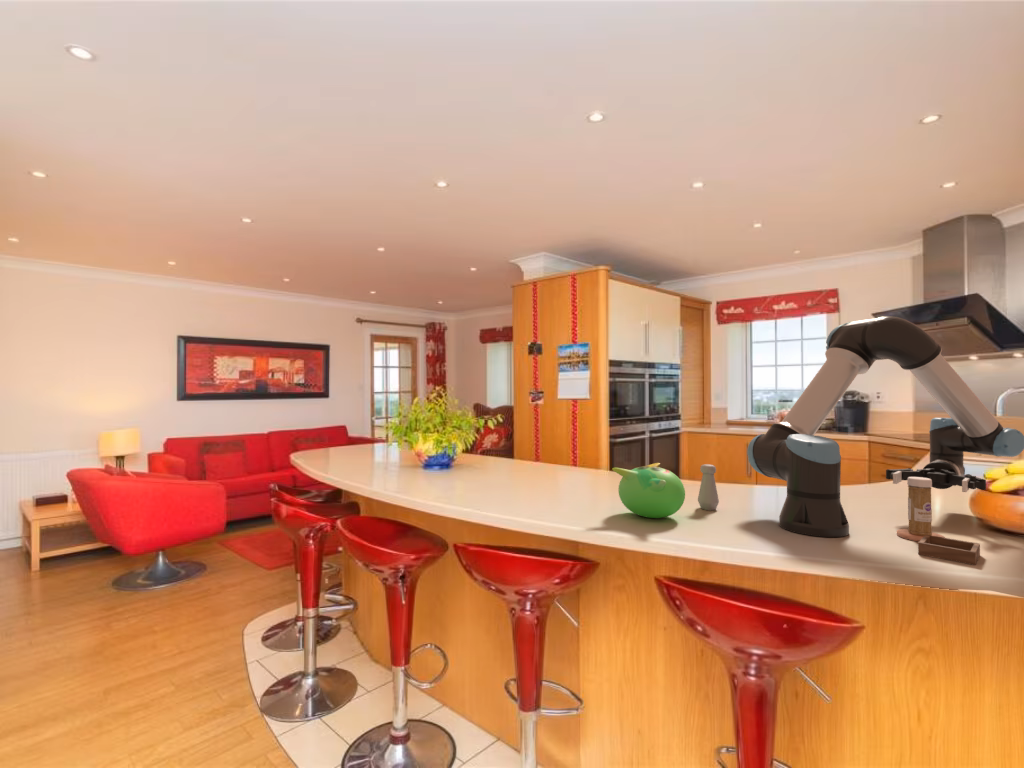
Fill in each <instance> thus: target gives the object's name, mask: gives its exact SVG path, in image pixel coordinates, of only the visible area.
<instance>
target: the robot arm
mask: <svg viewBox="0 0 1024 768" xmlns="http://www.w3.org/2000/svg"><path fill="white" fill-rule="evenodd" d="M825 342H826V343H825V344H826V346H825V350H826V351H825V352H824V353H825V354H824V355H825V358H826V361H824V363H823V365H822V366H821V367H820V369H819V370H818V371H817V373H816V374H815V376H813V378H812V380H811V381H810V382H809V384H808V385H807V386H806V388H805V389H804V390H803V392H802V393H801V395H800V396H799V397H798V399H797V400H796V401H795V403H794V404H793V406H792V407H791V409H789V411H788V412H787V414H786V415H785V417H784V418H783V419H782V421H780V422H774V423H773V424H772V425H771V426H770V427H769V429H768V430H767V431H766V433H762V434H758V435H756V436H754V437H753V438H752V439H751V440H750V441H749V443H748V447H747V451H746V453H747V460H748V462H749V464H750V466H751V468H752V469H754V471H755V472H757V473H759V474H761V475H763V476H765V477H768V478H773V479H777V480H781V481H785V482H786V497H785V500H784V503H783V506H782V509H781V511H780V514H779V517H778V518H779V520H778V523H779V527H780V528H782V529H784V530H787V531H789V532H793V533H797V534H801V535H807V536H813V537H825V538H841V537H846V536H848V535H849V534H850V524H849V522H848V518H847V515H846V513H845V511H844V508H843V505H842V502H841V474H842V473H841V468H842V467H841V466H842V465H841V463H842V455H841V451H840V445H839V443H838V442H837V441H836V440H834V439H832V438H829V437H826V436H821V435H815V434H816V433H817V432H818V430H819V429H820V427H821V426H822V424H824V422H825V420H826V419H827V418H828V417H829V415H830V414H831V412H832V411H833V410H834V408H835V407H836V405H837V404H838V402H839V401H840V400H841V399H842V397H843V396H844V394H845V392H846V391H847V390H848V389H849V387H850V385H851V384H852V383H853V381H854V380H855V379H856V377H857V376H858V375H863V374H866V373H867V372H869V369H870V368H871V367H872V366H873V364H874V363H875V362H876V361H881V360H882V361H883V360H890V361H893V362H895V363H897V364H898V365H899V367H900V368H902V370H905V371H910V372H911V374H913V376H914V377H915V379H917V381H918V382H919V383H920V384H921V385H922V386H923V388H925V390H926V391H927V392H928V393H929V394H930V395H931V396H932V397H933V399H935V401H936V402H937V404H939V406H940V407H941V408H942V409H943V410H944V411H945V413H946V414H948V416H949V417H933V418H931V420H930V424H929V432H928V433H929V463H927V464H926V465H924V466H923V468H921V469H919V468H917V469H916V470H914V469H912V468H909V467H908V468H899V469H898V468H896V469H894V468H893V469H888V468H887V469H885V479H886V480H892V484H894V485H897V484H899V483H901V482H902V481H907V480H908V477H923V478H929V479H931V480H932V487H931V488H935V489H937V490H946V489H950V488H952V487H956V486H957V487H958V486H959V487H961V492H962V493H967V492H968V491H969V490H976V489H977V490H981V491H987V479H984V478H980V477H977V476H976V475H972V474H969V473H968V474H966V467H965V465H964V453H972V454H979V455H988V456H993V457H1007V458H1008V457H1009V458H1010V457H1011V458H1013V457H1017V456H1019V455H1021V454H1022V453H1023V451H1024V434H1023V433H1022V432H1021V431H1020V430H1018V429H1017V428H1011V427H1004V426H1003V425H1002V424H1001V422H999V421H998V419H997V418H996V417H995V416H994V415H993V413H991V411H990V410H989V409H988V407H987V406H986V405H985V404H984V403H983V402H982V400H981V399H980V398H979V397H978V396H977V395H976V394H975V392H973V390H972V389H971V388H970V387H969V386H968V384H967V383H966V382H965V381H964V380H963V379H962V376H960V375H959V374H958V373H957V372H956V370H955V369H954V368H953V366H951V364H950V363H949V362H948V361H947V360H946V359H945V357H944V356H943V355H942V351H943V349H942V347H941V346H940V344H939V343H938V342H937V341H936V340H935V338H933V337H932V336H931V334H929V333H928V332H926V330H924V329H923V328H921V327H920V326H918V325H916V324H915V323H914V322H911V321H909V320H907V319H905V318H902V317H898V316H891V315H890V316H889V315H887V316H879V317H876V318H869V319H862V320H853V321H848V322H846V323H843V324H840V325H837V326H836V327H834V329H832V330H831V331H830V333H829V334H828V336H827V338H826V341H825Z"/></svg>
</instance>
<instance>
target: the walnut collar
mask: <svg viewBox="0 0 1024 768" xmlns="http://www.w3.org/2000/svg"><path fill="white" fill-rule="evenodd" d="M917 544H918V545H917V546H918V547H917V548H918V549H917V550H918V551H917V553H918V555H919V556H920V555H921V556H926V557H932V558H935V559H940V560H946V561H950V562H957V563H962V564H963V563H964V564H967V565H968V564H969V565H973V566H976V564H977V563H978V561H979V558H980V556H981V543H980V542H979V543H978V542H973V541H967V540H960V539H954V538H949V537H945V538H943V537H937V536H931V535H925V536H924V537H923V538H922V539H921V540H920V541H919V542H918V541H917Z"/></svg>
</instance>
